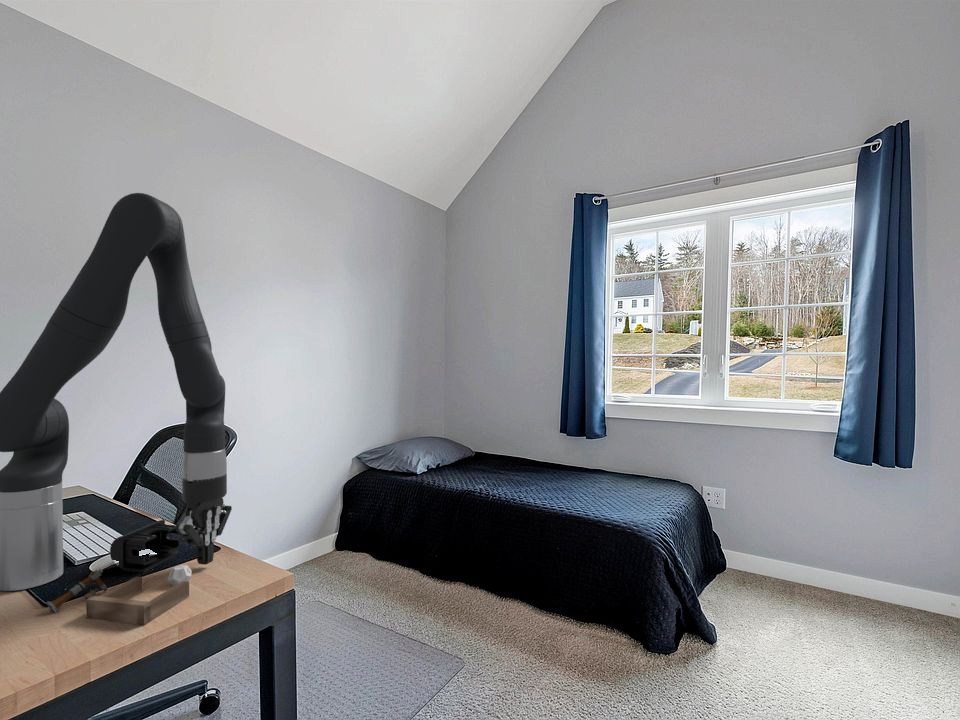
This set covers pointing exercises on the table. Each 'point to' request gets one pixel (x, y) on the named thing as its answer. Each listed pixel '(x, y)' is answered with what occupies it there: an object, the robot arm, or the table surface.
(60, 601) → the wooden post with brackets
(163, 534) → the end cap
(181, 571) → the game die
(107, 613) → the dice corral
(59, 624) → the table surface
